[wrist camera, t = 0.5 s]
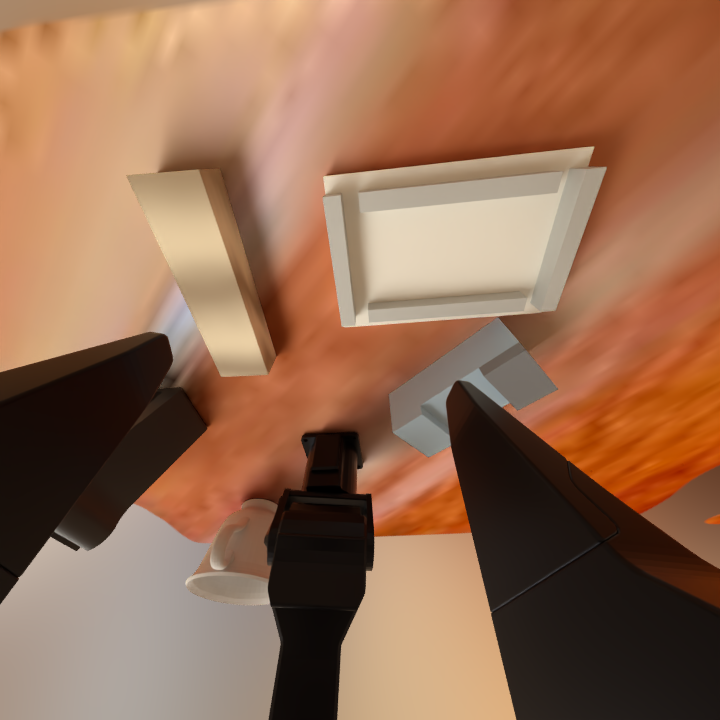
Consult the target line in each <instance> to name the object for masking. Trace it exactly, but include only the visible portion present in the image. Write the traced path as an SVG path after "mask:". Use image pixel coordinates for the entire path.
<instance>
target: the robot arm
mask: <svg viewBox="0 0 720 720" xmlns="http://www.w3.org/2000/svg"><path fill="white" fill-rule="evenodd" d="M172 362H173V355H172V351H171V347H170V344H169V340H168V337H167V336H166V335H165V334H161V333H155V332H147V333H143V334H140V335H136V336H132V337H129V338H125V339H121V340H118V341H114V342H110V343H107V344H103V345H99V346H96V347H92V348H88V349H85V350H81V351H77V352H73V353H70V354H66V355H62V356H59V357H55V358H51V359H48V360H44V361H40V362H37V363H33V364H29V365H26V366H22V367H18V368H15V369H11V370H7V371H4V372H0V604H1V603H2V601H3V600H4V599H5V597H6V596H7V595H8V593H9V592H10V590H11V589H12V588H13V586H14V585H15V584H16V582H17V581H18V580H19V578H18V577H20V576H21V575H22V574H23V573H24V571H25V570H26V569H27V567H28V566H29V565H30V563H31V562H32V560H33V559H34V558H35V557H36V555H37V554H38V553H39V551H40V550H41V548H42V547H43V546H44V544H45V543H46V542H47V540H48V539H49V538H50V536H51V535H52V534H53V532H54V531H55V530H56V528H57V527H58V526H59V524H60V523H61V522H62V520H63V519H64V518H65V516H66V515H67V514H68V512H69V511H70V510H71V508H72V507H73V506H74V504H75V503H76V502H77V500H78V499H79V497H80V496H81V495H82V493H83V492H84V491H85V489H86V488H87V487H88V485H89V484H90V483H91V481H92V480H93V479H94V477H95V476H96V475H97V473H98V472H99V471H100V469H101V468H102V467H103V465H104V464H105V463H106V461H107V460H108V459H109V457H110V456H111V455H112V453H113V452H114V450H115V449H116V448H117V446H118V445H119V444H120V442H121V441H122V440H123V438H124V437H125V436H126V434H127V433H128V432H129V430H130V429H131V428H132V426H133V425H134V424H135V422H136V421H137V420H138V418H139V417H140V416H141V414H142V413H143V411H144V410H145V409H146V407H147V406H148V404H149V403H150V401H151V399H152V398H153V396H154V394H155V393H156V391H157V389H158V387H159V386H160V384H161V382H162V381H163V379H164V377H165V375H166V374H167V372H168V370H169V368H170V367H171V365H172ZM446 411H447V419H448V428H449V436H450V443H451V448H452V453H453V457H454V461H455V466H456V470H457V474H458V478H459V482H460V486H461V491H462V495H463V499H464V503H465V507H466V511H467V515H468V520H469V524H470V528H471V532H472V536H473V540H474V544H475V549H476V553H477V557H478V561H479V565H480V569H481V573H482V578H483V582H484V586H485V590H486V594H487V598H488V602H489V606H490V611H491V612H492V613H491V616H492V620H493V624H494V628H495V633H496V637H497V641H498V645H499V649H500V653H501V658H502V662H503V666H504V670H505V674H506V678H507V682H508V687H509V691H510V695H511V699H512V703H513V707H514V711H515V715H516V720H720V569H719V568H717V567H715V566H713V565H711V564H710V563H708V562H706V561H705V560H703V559H701V558H700V557H698V556H697V555H696V554H694V553H693V552H691V551H690V550H688V549H687V548H685V547H684V546H683V545H681V544H680V543H679V542H677V541H676V540H674V539H673V538H672V537H670V536H669V535H667V534H666V533H665V532H663V531H662V530H661V529H659V528H658V527H656V526H655V525H654V524H652V523H651V522H649V521H648V520H647V519H645V518H644V517H642V516H641V515H640V514H638V513H637V512H636V511H634V510H633V509H632V508H630V507H629V506H627V505H626V504H625V503H623V502H622V501H621V500H619V499H618V498H617V497H615V496H614V495H613V494H611V493H610V492H608V491H607V490H606V489H604V488H603V487H602V486H600V485H599V484H598V483H597V482H595V481H594V480H593V479H591V478H590V477H589V476H588V475H586V474H585V473H584V472H582V471H581V470H580V469H579V468H577V467H576V466H575V465H574V464H572V463H571V462H570V461H567V460H566V458H565V457H563V456H562V455H561V454H560V453H558V452H557V451H556V450H555V449H553V448H552V447H551V446H550V445H548V444H547V443H546V442H545V441H543V440H542V439H541V438H540V437H538V436H537V435H536V434H535V433H533V432H532V431H531V430H529V429H528V428H527V427H526V426H524V425H523V424H522V423H521V422H519V421H518V420H517V419H516V418H514V417H513V416H512V415H511V414H509V413H508V412H507V411H506V410H504V409H503V408H502V407H501V406H499V405H498V404H497V403H496V402H494V401H493V400H492V399H491V398H489V397H488V396H487V395H486V394H484V393H483V392H482V391H480V390H479V389H478V388H477V387H475V386H474V385H473V384H472V383H470V382H468V381H462V380H457V381H455V383H454V384H453V386H452V388H451V390H450V392H449V395H448V397H447V399H446ZM301 441H302V444H303V447H304V450H305V453H306V456H307V459H308V460H307V465H306V470H305V475H304V480H303V486H302V491H301V490H291V489H285V491H284V494H283V496H281V498H280V499H279V503H278V507H277V510H276V513H275V516H274V519H273V521H272V523H271V525H270V527H269V529H268V531H267V533H266V535H265V538H264V544H265V546H266V548H267V565H268V566H271V571H270V576H269V582H268V595H269V601H270V605H271V607H272V609H273V613H274V617H275V621H276V625H277V629H278V633H279V637H280V641H281V646H280V653H279V659H278V665H277V671H276V678H275V683H274V690H273V696H272V703H271V708H270V715H269V720H337V711H338V692H339V674H340V655H341V654H340V653H341V644H342V642H343V640H344V638H345V636H346V634H347V631H348V629H349V627H350V625H351V623H352V620H353V618H354V616H355V614H356V612H357V610H358V608H359V605H360V603H361V601H362V599H363V597H364V594H365V587H366V571H372V568H373V561H374V524H373V511H372V498H371V494H356V490H357V469H361V468H363V462H362V455H361V448H360V441H359V435H358V433H355V432H351V433H330V434H309V435H303V436H302V438H301Z"/></svg>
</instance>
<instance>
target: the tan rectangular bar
mask: <svg viewBox="0 0 720 720" xmlns="http://www.w3.org/2000/svg"><path fill="white" fill-rule="evenodd" d="M126 176H127V178H128V180H129V182H130V185H131V187H132V189H133V191H134V193H135V195H136V197H137V199H138V201H139V204H140V206H141V208H142V210H143V212H144V214H145V216H146V218H147V221H148V223H149V225H150V227H151V229H152V231H153V233H154V235H155V238H156V240H157V242H158V244H159V246H160V248H161V250H162V252H163V254H164V257H165V259H166V261H167V263H168V265H169V267H170V269H171V271H172V274H173V276H174V278H175V280H176V282H177V284H178V286H179V288H180V290H181V293H182V295H183V297H184V299H185V301H186V303H187V305H188V307H189V310H190V312H191V314H192V316H193V318H194V320H195V322H196V324H197V327H198V329H199V331H200V333H201V335H202V337H203V339H204V341H205V343H206V346H207V348H208V350H209V352H210V354H211V356H212V358H213V360H214V363H215V365H216V367H217V369H218V371H219V373H220V375H221V377H230V376H252V375H268V374H269V372H270V370H271V367H272V365H273V363H274V361H275V358H276V353H275V350H274V347H273V343H272V340H271V337H270V333H269V330H268V327H267V323H266V320H265V317H264V313H263V310H262V307H261V303H260V300H259V297H258V293H257V290H256V287H255V283H254V280H253V277H252V273H251V270H250V267H249V263H248V260H247V257H246V253H245V250H244V247H243V243H242V240H241V237H240V233H239V230H238V227H237V223H236V220H235V217H234V213H233V210H232V207H231V203H230V200H229V197H228V194H227V190H226V187H225V184H224V180H223V177H222V174H221V170H220V168H219V169H197V170H185V171H173V172H161V173H149V174H137V175H126Z"/></svg>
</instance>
